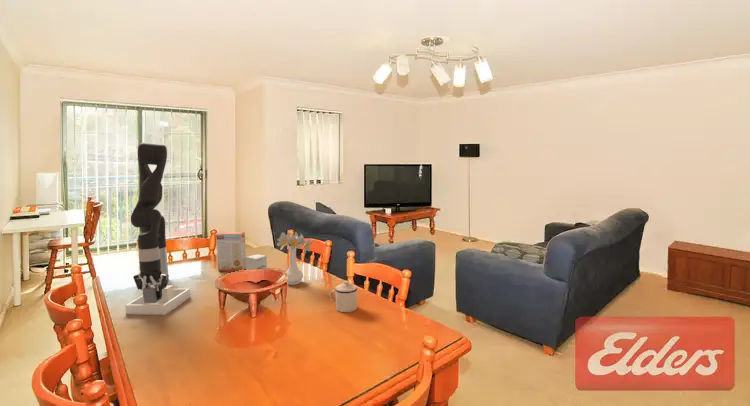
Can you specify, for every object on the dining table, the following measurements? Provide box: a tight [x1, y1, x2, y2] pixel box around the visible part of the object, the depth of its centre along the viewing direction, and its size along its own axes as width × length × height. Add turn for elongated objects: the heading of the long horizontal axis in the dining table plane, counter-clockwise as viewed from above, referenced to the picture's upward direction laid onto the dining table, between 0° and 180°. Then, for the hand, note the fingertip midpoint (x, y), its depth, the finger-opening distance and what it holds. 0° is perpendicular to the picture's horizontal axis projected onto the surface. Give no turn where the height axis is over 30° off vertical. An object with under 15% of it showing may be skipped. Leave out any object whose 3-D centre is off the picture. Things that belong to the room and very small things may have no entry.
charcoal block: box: [142, 284, 162, 303], centre depth 164 cm, size 4×4×6 cm
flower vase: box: [276, 231, 314, 286], centre depth 196 cm, size 13×18×25 cm
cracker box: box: [215, 231, 247, 272], centre depth 219 cm, size 14×6×21 cm, turn 84°
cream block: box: [158, 284, 174, 302], centre depth 174 cm, size 4×4×6 cm
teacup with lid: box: [328, 280, 358, 313], centre depth 165 cm, size 12×9×12 cm
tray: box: [124, 287, 191, 316], centre depth 169 cm, size 16×20×4 cm
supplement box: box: [245, 254, 268, 270], centre depth 201 cm, size 7×7×13 cm
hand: (152, 298), depth 165 cm, fingers closed on charcoal block, 4 cm apart
